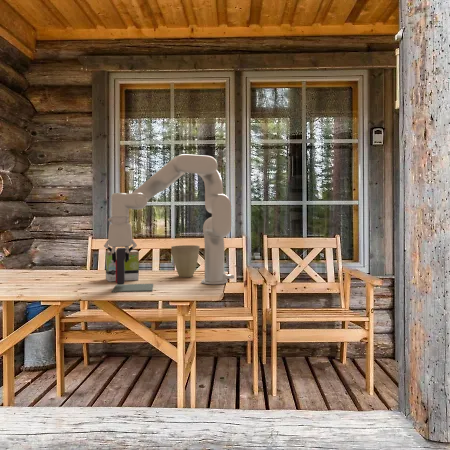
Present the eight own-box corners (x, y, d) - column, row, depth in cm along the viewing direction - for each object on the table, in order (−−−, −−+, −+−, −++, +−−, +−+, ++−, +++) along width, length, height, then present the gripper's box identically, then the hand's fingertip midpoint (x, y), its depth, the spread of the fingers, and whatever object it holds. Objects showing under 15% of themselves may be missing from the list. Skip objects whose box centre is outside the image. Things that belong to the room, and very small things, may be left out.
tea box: (108, 282, 215) (107, 251, 214) (105, 279, 224) (105, 250, 223) (139, 280, 220) (139, 250, 220) (135, 277, 229) (135, 249, 229)
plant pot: (201, 274, 240) (201, 245, 239) (197, 278, 225) (197, 247, 224) (174, 274, 241) (174, 244, 241) (168, 278, 226) (168, 247, 226)
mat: (153, 285, 206) (153, 283, 206) (152, 291, 190) (152, 289, 190) (116, 285, 204) (116, 284, 204) (111, 292, 188) (111, 290, 188)
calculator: (116, 280, 201) (116, 247, 201) (126, 280, 202) (125, 247, 202) (115, 284, 191) (114, 250, 190) (125, 284, 191) (125, 249, 191)
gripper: (99, 221, 191) (99, 263, 191) (139, 221, 193) (139, 262, 193) (101, 220, 198) (102, 261, 199) (140, 220, 200) (140, 260, 201)
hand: (120, 261), depth 196 cm, fingers closed on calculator, 4 cm apart
